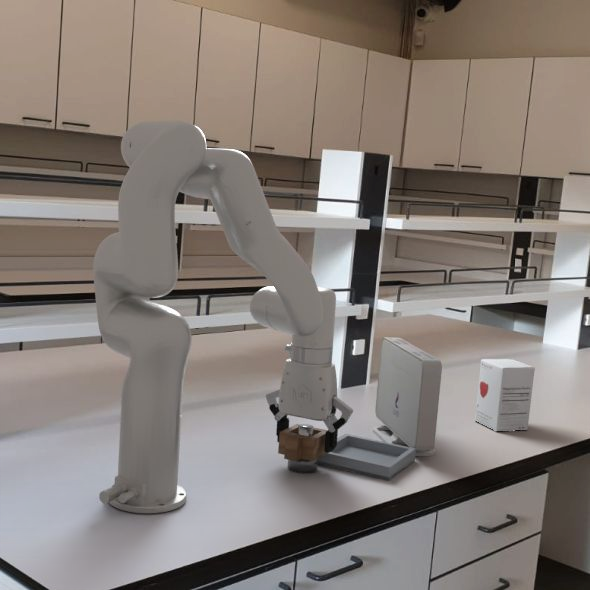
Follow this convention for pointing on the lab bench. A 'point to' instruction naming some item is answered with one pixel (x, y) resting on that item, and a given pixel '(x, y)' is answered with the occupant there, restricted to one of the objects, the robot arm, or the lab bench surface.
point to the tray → (368, 457)
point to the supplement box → (504, 394)
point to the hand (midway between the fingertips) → (305, 445)
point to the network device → (408, 395)
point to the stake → (302, 464)
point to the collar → (301, 444)
